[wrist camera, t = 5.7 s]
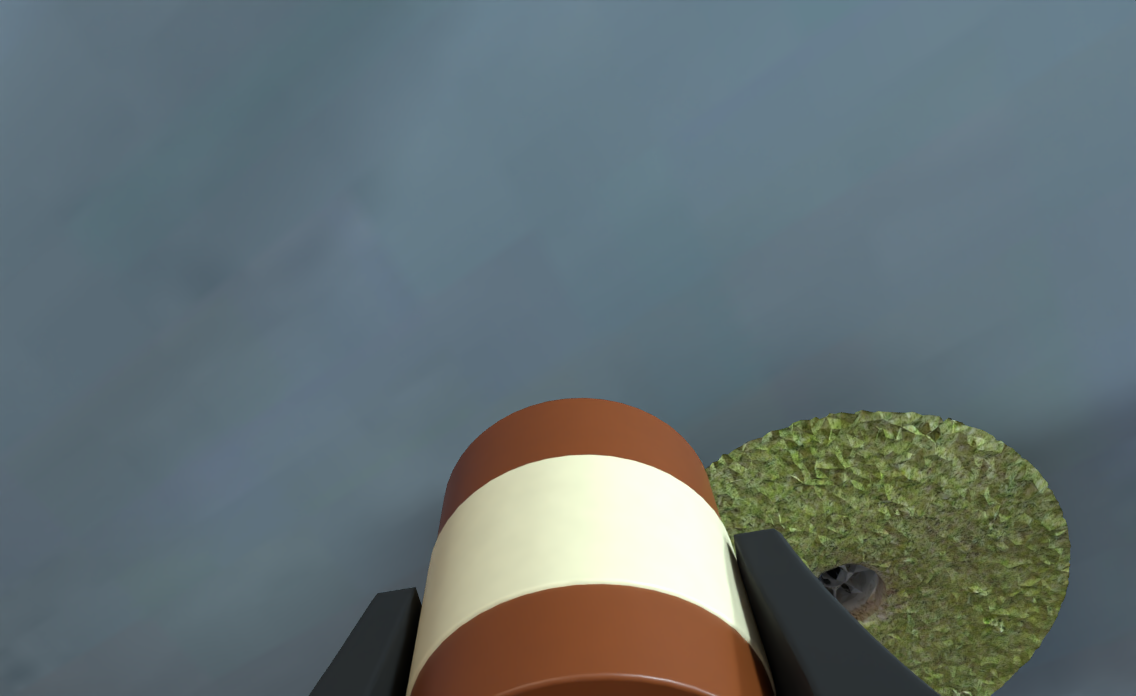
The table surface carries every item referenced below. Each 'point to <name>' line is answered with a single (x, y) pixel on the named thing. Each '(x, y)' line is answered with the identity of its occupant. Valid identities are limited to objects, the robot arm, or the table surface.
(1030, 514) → the yellow-green flat disc
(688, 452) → the sauce bottle
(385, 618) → the robot arm
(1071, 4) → the table surface
